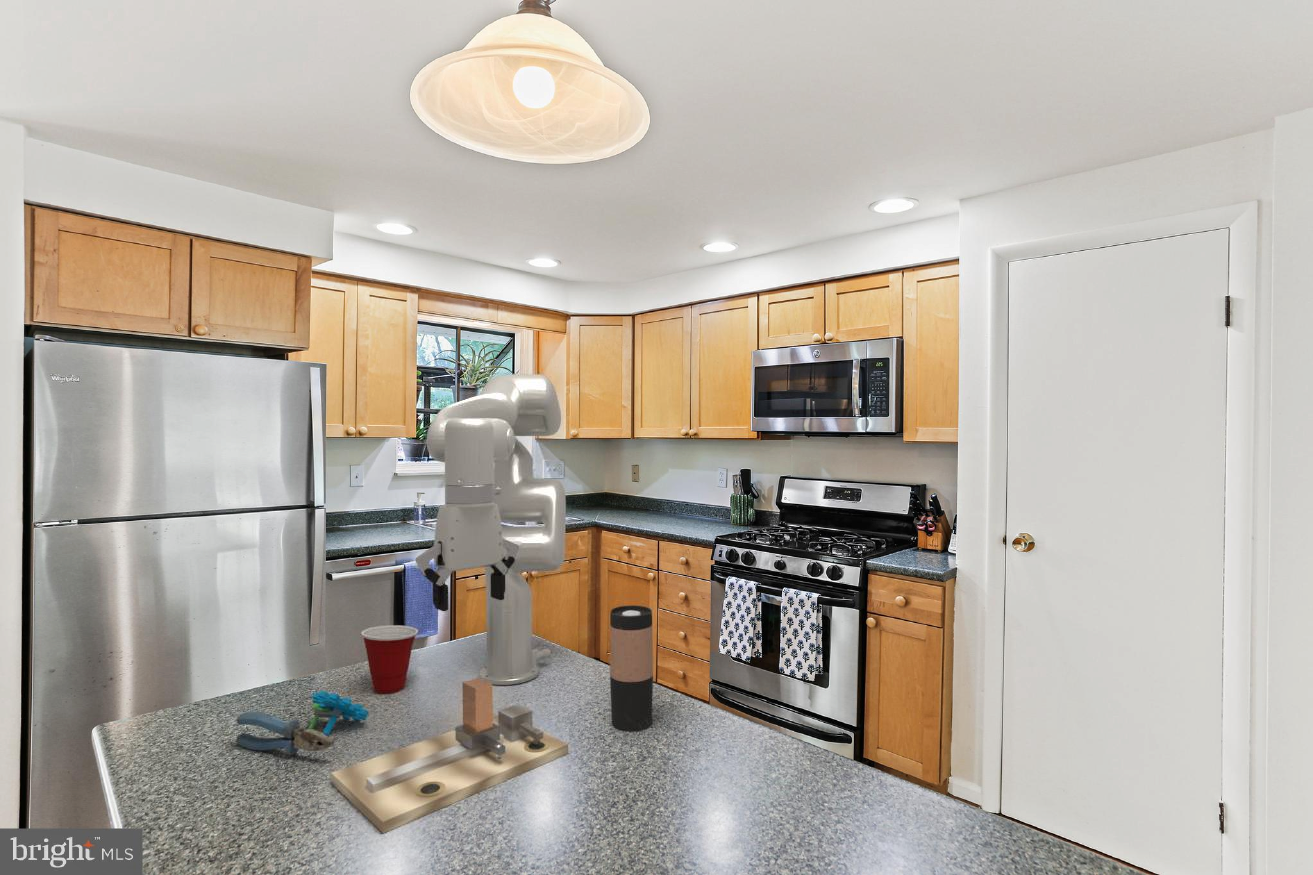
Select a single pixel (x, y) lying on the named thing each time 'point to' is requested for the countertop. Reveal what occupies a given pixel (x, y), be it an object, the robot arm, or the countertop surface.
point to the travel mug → (631, 667)
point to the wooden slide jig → (443, 770)
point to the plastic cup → (389, 656)
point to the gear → (335, 709)
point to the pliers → (290, 731)
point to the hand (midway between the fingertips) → (470, 603)
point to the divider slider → (479, 718)
